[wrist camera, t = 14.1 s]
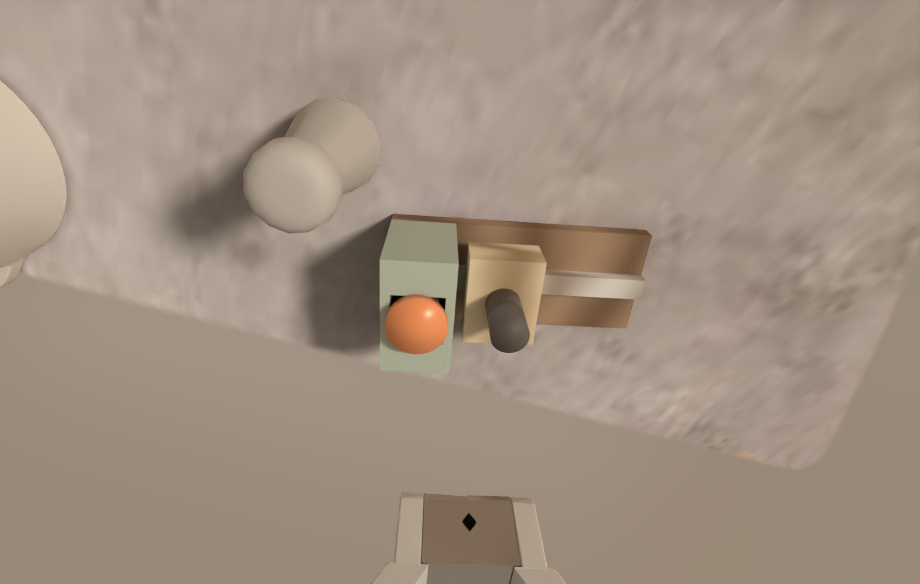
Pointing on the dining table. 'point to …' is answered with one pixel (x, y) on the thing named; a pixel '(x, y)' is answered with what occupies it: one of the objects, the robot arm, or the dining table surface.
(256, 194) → the salt shaker
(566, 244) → the rail bed
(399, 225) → the end cabinet
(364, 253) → the dining table surface
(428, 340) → the button
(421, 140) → the dining table surface
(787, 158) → the dining table surface
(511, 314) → the carriage
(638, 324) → the dining table surface
